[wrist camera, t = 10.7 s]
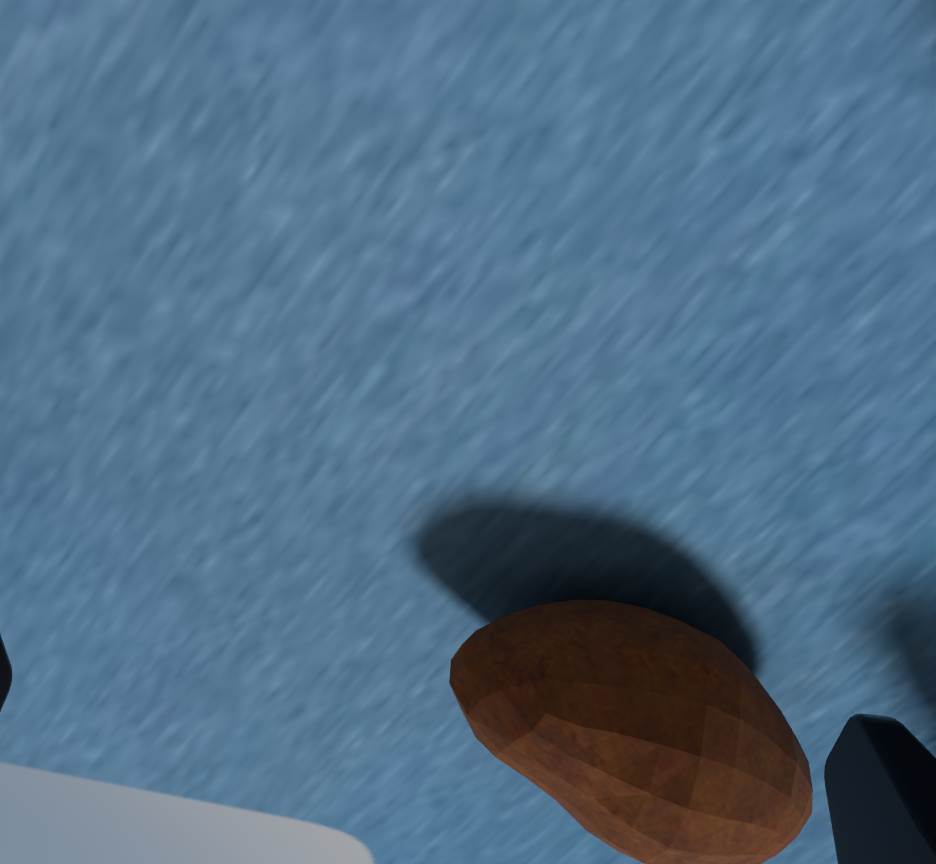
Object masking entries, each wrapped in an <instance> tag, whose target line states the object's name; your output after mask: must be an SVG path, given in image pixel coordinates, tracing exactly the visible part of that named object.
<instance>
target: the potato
mask: <svg viewBox="0 0 936 864" xmlns="http://www.w3.org/2000/svg"><path fill="white" fill-rule="evenodd" d="M449 683H450V685H451V687H452V690H453V692H454V694H455V696H456V699H457V701H458V703H459V706H460V708H461V710H462V712H463V713H464V715H465V717H466V719H467V721H468V723H469V725H470V727H471V729H472V731H473V733H474V735H475V737H476V738H477V739H478V740H479V741H480V742H481V743H482V744H483V745H484V746H485V747H486V748H487V749H488V750H489V751H490V752H491V753H492V754H493V755H494V756H495V757H496V758H498V759H499V760H501V761H502V762H504V763H505V764H507V765H508V766H510V767H511V768H513V769H514V770H516V771H517V772H519V773H520V774H522V775H523V776H525V777H526V778H527V779H529V780H530V781H531V782H533V783H534V784H535V785H537V786H538V787H539V788H541V789H542V790H543V791H545V792H546V793H547V794H548V795H550V796H551V797H552V798H554V799H555V800H556V801H557V802H558V803H559V804H560V805H561V806H562V807H563V808H564V809H565V810H566V811H567V812H568V813H569V814H570V815H571V816H572V817H573V818H574V819H575V820H576V821H577V822H578V823H579V824H580V825H581V826H582V827H583V828H584V829H585V830H586V831H588V832H589V833H591V834H592V835H594V836H596V837H597V838H599V839H600V840H602V841H603V842H605V843H606V844H608V845H609V846H611V847H612V848H614V849H615V850H617V851H618V852H621V853H623V854H625V855H627V856H629V857H632V858H634V859H636V860H638V861H640V862H643V863H646V864H761V863H763V862H765V861H767V860H768V859H770V858H772V857H774V856H776V855H777V854H778V853H780V852H781V851H782V850H783V849H784V848H785V847H786V846H787V845H788V844H790V843H791V842H792V841H793V840H794V839H795V838H796V837H797V836H798V835H799V833H800V831H801V830H802V828H803V827H804V825H805V823H806V822H807V820H808V819H809V817H810V815H811V814H812V793H813V790H812V783H811V776H810V769H809V762H808V760H807V758H806V756H805V754H804V752H803V750H802V748H801V746H800V744H799V742H798V740H797V738H796V736H795V734H794V733H793V731H792V729H791V727H790V726H789V724H788V722H787V721H786V719H785V717H784V715H783V714H782V712H781V710H780V709H779V707H778V706H777V705H776V703H775V702H774V701H773V699H772V698H771V697H770V696H769V694H768V693H767V692H766V690H765V689H764V688H763V686H762V685H761V684H760V682H759V681H758V680H757V678H756V677H755V676H754V675H753V674H752V672H751V671H750V670H749V669H748V668H747V666H746V665H745V664H744V663H743V662H742V661H741V660H740V659H739V658H738V657H736V656H735V655H734V654H733V653H732V652H731V651H730V650H729V649H728V648H727V647H726V646H725V645H724V644H723V643H722V642H721V641H720V640H718V639H716V638H714V637H712V636H710V635H708V634H706V633H704V632H702V631H700V630H698V629H696V628H694V627H692V626H690V625H688V624H686V623H684V622H682V621H680V620H678V619H676V618H673V617H670V616H667V615H664V614H661V613H658V612H656V611H653V610H650V609H647V608H644V607H640V606H635V605H630V604H625V603H620V602H615V601H610V600H569V601H562V602H555V603H548V604H542V605H539V606H535V607H532V608H528V609H524V610H521V611H517V612H515V613H512V614H510V615H507V616H505V617H502V618H500V619H498V620H496V621H494V622H492V623H490V624H488V625H486V626H484V627H482V628H480V629H478V630H476V631H475V632H474V633H473V634H472V635H471V636H470V637H469V638H468V639H467V640H466V641H465V642H464V643H463V644H462V646H461V647H460V648H459V650H458V651H457V652H456V654H455V655H454V657H453V658H452V659H451V668H450V681H449Z"/></svg>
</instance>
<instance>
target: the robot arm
mask: <svg viewBox="0 0 936 864" xmlns="http://www.w3.org/2000/svg"><path fill="white" fill-rule="evenodd" d="M11 682H12V667H11V664H10V661H9V658H8V655H7V652H6V649H5V646H4V643H3V640H2V637H1V635H0V711H1V709H2V707H3V704H4V702H5V700H6V697H7V695H8V693H9V690H10V686H11ZM824 778H825V787H826V793H827V799H828V805H829V811H830V817H831V823H832V829H833V836H834V842H835V848H836V854H837V860H838V864H936V758H935V757H934V756H933V755H932V754H931V753H930V752H929V751H928V750H927V749H926V748H925V747H924V746H923V744H922V743H921V742H920V741H919V740H918V739H917V738H916V737H915V736H914V735H913V734H912V733H911V732H910V731H909V730H908V729H907V728H906V727H905V726H904V725H903V724H902V723H900V722H899V721H897V720H896V719H894V718H891V717H887V716H878V715H869V714H855V715H854V716H852V717H850V718H849V720H848V721H847V723H846V725H845V727H844V729H843V730H842V732H841V734H840V736H839V738H838V739H837V741H836V743H835V745H834V747H833V749H832V750H831V752H830V754H829V756H828V758H827V761H826V765H825V772H824Z"/></svg>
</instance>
